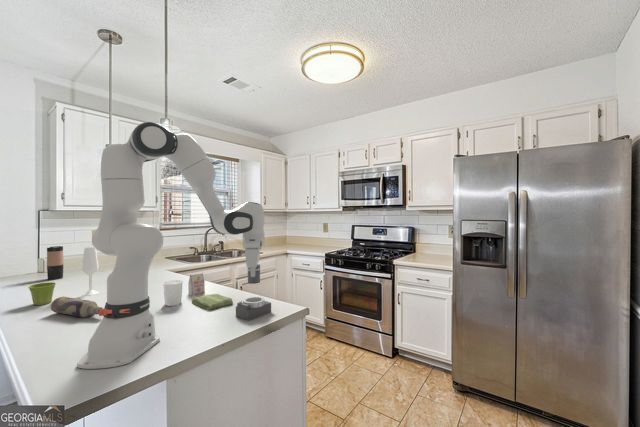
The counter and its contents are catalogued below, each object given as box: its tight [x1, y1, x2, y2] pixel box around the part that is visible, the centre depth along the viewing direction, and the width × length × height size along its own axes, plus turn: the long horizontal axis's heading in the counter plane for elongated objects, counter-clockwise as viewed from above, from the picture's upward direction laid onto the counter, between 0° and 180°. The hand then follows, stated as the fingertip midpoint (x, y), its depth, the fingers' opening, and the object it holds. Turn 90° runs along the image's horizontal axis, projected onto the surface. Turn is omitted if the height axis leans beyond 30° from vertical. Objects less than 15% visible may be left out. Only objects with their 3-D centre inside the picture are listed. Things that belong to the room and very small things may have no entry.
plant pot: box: [27, 281, 57, 306], centre depth 134 cm, size 9×9×9 cm
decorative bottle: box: [50, 296, 104, 318], centre depth 119 cm, size 26×8×7 cm, turn 72°
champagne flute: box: [81, 246, 100, 297], centre depth 149 cm, size 7×7×24 cm
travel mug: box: [46, 245, 64, 281], centre depth 182 cm, size 8×8×20 cm
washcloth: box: [191, 293, 233, 311], centre depth 134 cm, size 13×18×3 cm
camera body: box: [235, 296, 272, 322], centre depth 120 cm, size 12×8×6 cm
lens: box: [246, 263, 261, 285], centre depth 120 cm, size 5×5×7 cm
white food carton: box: [187, 272, 206, 296], centre depth 150 cm, size 4×7×10 cm, turn 138°
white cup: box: [162, 279, 183, 307], centre depth 133 cm, size 8×8×10 cm
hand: (253, 274), depth 120 cm, fingers closed on lens, 5 cm apart
